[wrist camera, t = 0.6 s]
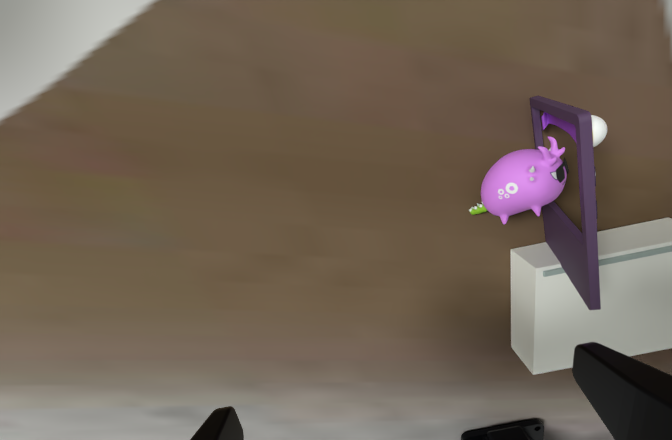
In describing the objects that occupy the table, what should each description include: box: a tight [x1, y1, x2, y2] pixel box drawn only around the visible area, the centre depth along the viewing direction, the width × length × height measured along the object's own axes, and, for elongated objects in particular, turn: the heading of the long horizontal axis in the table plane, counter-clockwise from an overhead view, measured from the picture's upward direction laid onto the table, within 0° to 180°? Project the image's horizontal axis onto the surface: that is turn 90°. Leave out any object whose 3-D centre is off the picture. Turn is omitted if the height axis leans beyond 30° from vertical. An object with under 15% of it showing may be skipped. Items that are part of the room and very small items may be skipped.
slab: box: [511, 217, 672, 375], centre depth 20 cm, size 8×10×3 cm
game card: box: [469, 96, 607, 310], centre depth 16 cm, size 7×5×9 cm
